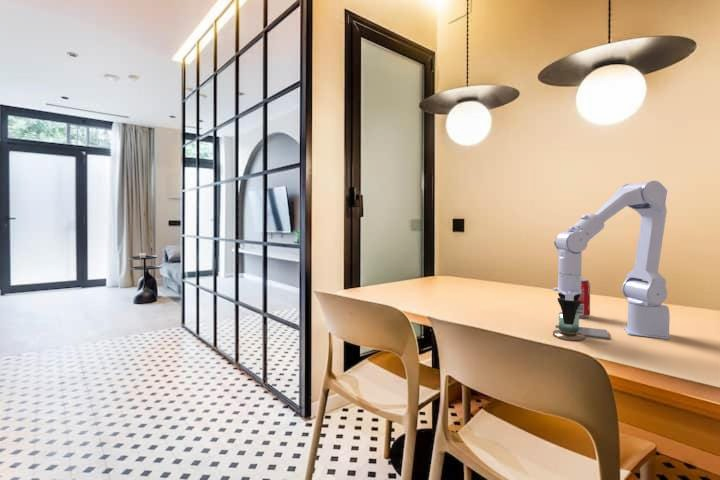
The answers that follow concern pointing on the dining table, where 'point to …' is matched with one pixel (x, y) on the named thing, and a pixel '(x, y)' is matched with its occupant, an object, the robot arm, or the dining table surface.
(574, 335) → the bronze metal disc
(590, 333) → the coaster
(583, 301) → the soda can
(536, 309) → the dining table surface
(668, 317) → the robot arm
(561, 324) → the teal mug
